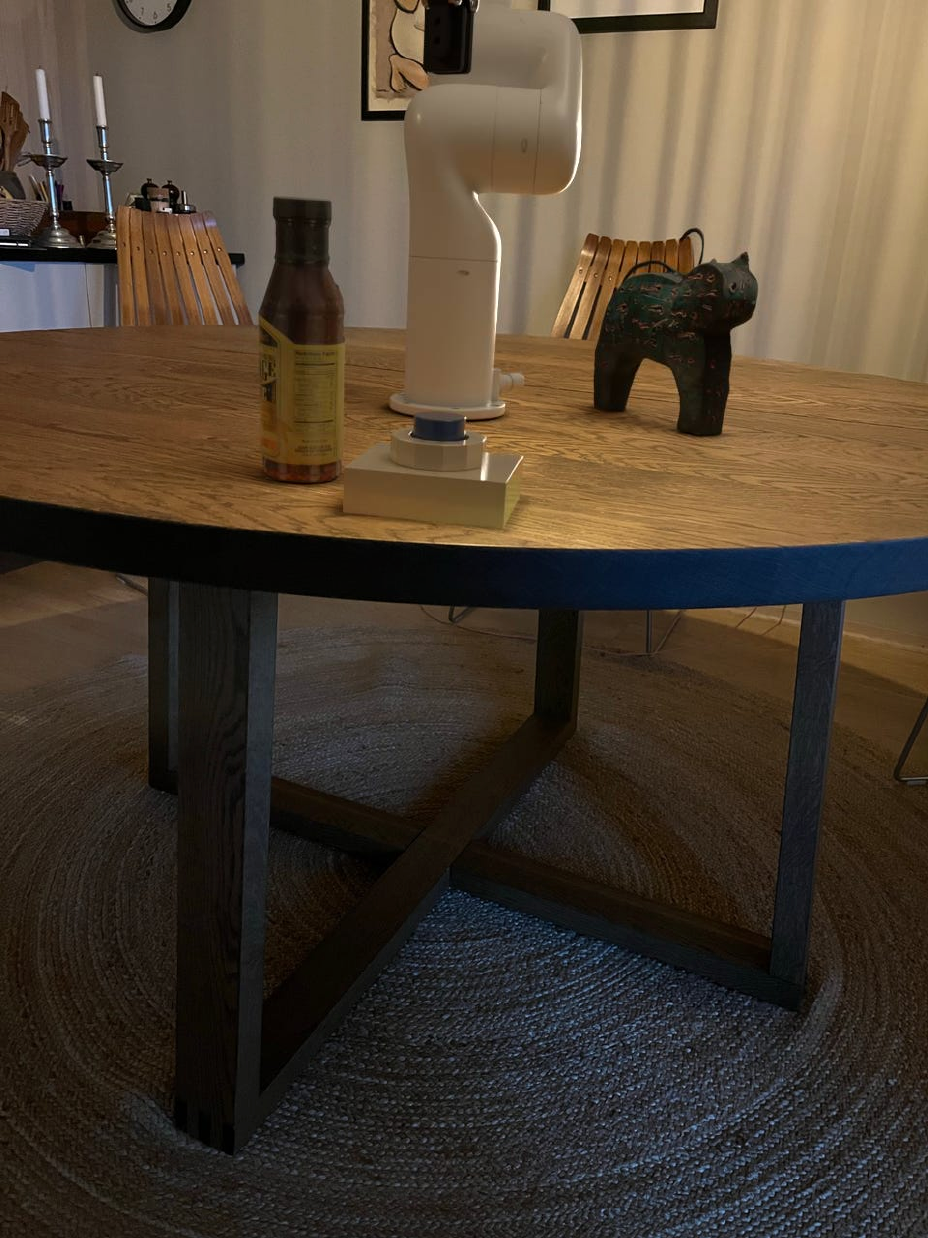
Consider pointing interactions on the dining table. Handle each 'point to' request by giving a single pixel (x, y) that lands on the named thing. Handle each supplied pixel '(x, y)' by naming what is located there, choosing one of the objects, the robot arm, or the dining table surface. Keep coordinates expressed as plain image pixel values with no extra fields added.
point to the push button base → (434, 481)
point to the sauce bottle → (302, 349)
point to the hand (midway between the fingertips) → (446, 71)
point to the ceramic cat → (676, 335)
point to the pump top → (439, 426)
